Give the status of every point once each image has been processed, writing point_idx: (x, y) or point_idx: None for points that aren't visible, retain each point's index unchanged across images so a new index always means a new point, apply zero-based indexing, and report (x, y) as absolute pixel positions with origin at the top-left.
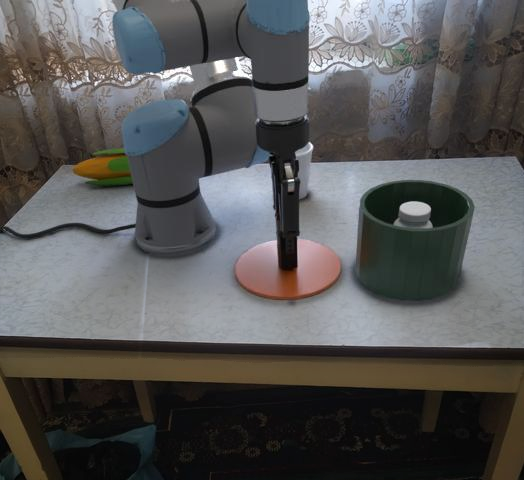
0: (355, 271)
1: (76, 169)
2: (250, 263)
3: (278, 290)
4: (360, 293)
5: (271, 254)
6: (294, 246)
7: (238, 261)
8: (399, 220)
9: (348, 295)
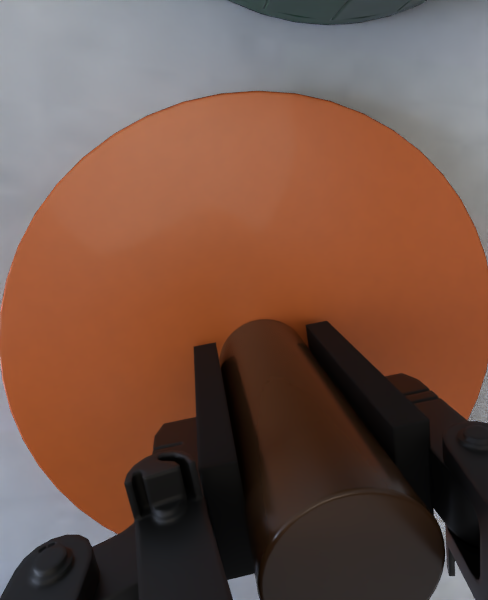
0: (332, 16)
1: None
2: None
3: (445, 386)
4: (463, 22)
5: None
6: (435, 394)
7: None
8: None
9: (467, 84)
